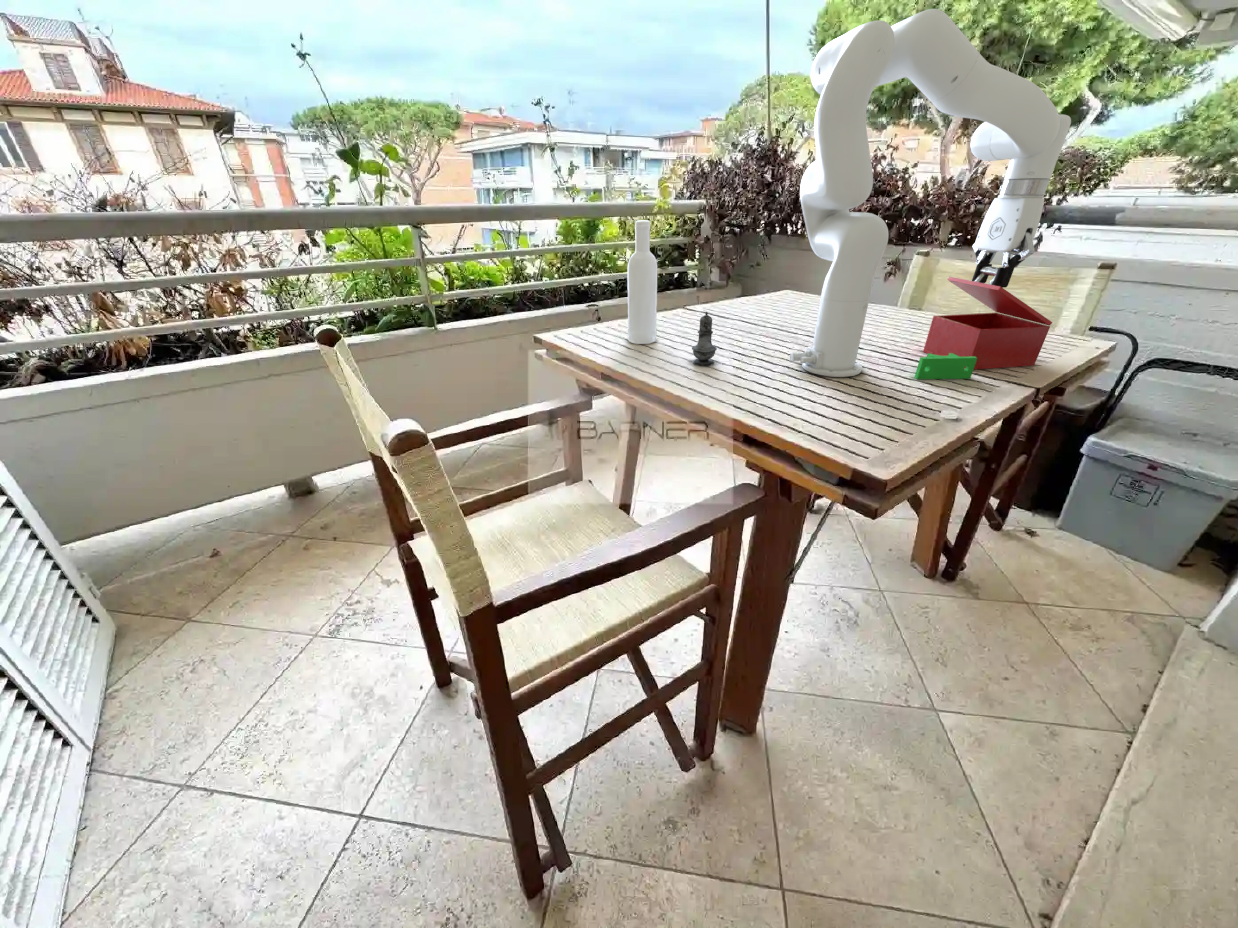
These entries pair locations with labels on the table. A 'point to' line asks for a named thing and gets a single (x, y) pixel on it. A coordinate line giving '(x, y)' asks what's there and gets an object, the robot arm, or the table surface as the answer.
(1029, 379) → the table surface
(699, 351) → the salt shaker
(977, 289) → the red box lid
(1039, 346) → the red hinged box
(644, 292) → the bottle
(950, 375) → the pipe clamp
